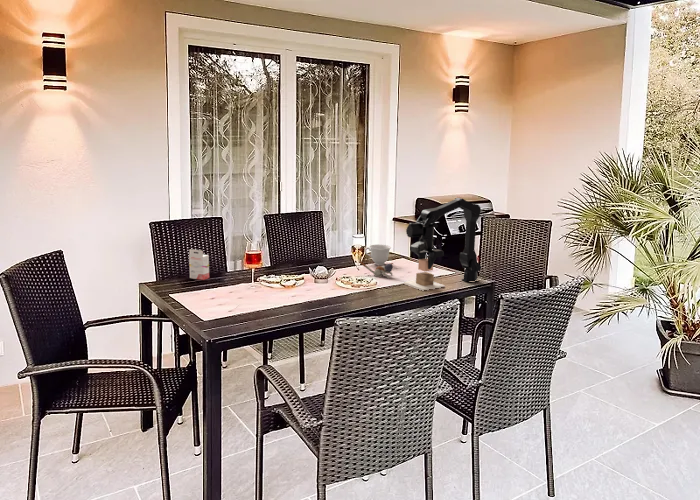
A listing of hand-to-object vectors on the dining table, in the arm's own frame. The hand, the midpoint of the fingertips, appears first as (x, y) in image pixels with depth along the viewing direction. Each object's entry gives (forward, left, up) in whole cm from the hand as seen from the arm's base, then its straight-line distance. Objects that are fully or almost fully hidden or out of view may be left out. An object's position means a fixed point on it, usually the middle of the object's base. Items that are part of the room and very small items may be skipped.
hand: (425, 267), depth 285 cm
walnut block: (0, 0, -8) cm, 8 cm away
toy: (+10, -28, -9) cm, 31 cm away
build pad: (0, 0, -9) cm, 9 cm away
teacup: (-6, -48, -9) cm, 49 cm away
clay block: (0, 0, -1) cm, 1 cm away
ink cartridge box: (+91, -63, -9) cm, 111 cm away
